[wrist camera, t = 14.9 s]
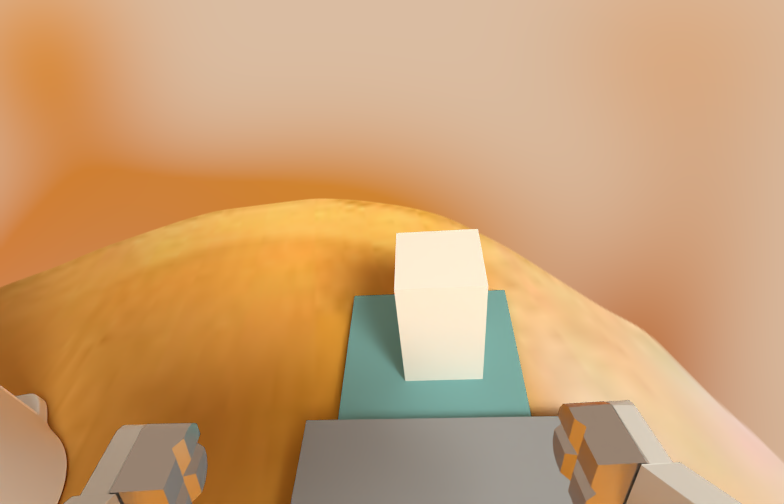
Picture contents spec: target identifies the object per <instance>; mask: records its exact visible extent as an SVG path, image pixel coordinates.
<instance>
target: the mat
mask: <svg viewBox="0 0 784 504" xmlns="http://www.w3.org/2000/svg"><path fill="white" fill-rule="evenodd" d="M479 417H531V412H530V408H529V403H528V398H527V394H526V389H525V384H524V379H523V375H522V370H521V365H520V361H519V356H518V351H517V347H516V342H515V337H514V333H513V328H512V323H511V318H510V314H509V309H508V304H507V300H506V295H505V290H495V291H488V298H487V316H486V333H485V350H484V367H483V379H466V380H427V381H405V375H404V367H403V358H402V350H401V342H400V334H399V326H398V317H397V309H396V301H395V294H393V295H367V296H355V297H354V305H353V312H352V320H351V327H350V335H349V342H348V350H347V357H346V364H345V372H344V379H343V387H342V394H341V402H340V409H339V417H338V420H357V419H418V418H479Z"/></svg>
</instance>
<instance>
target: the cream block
mask: <svg viewBox="0 0 784 504" xmlns="http://www.w3.org/2000/svg"><path fill="white" fill-rule="evenodd" d="M394 293H395V301H396V309H397V317H398V326H399V334H400V342H401V350H402V358H403V367H404V375H405V381H427V380H466V379H483V367H484V350H485V333H486V316H487V298H488V282H487V277H486V271H485V266H484V260H483V254H482V249H481V243H480V238H479V232H478V229H468V230H449V231H429V232H410V233H396V257H395V281H394Z"/></svg>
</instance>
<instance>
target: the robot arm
mask: <svg viewBox="0 0 784 504" xmlns="http://www.w3.org/2000/svg"><path fill="white" fill-rule="evenodd" d="M558 417H559V419H560V422H561V424H560V425H559V426H558V427H557V428H555V429H554V435H553V452H554V456H555V460H556V463H557V466H558V468H559V471H560V473H562V474H563V475H564V476H565V477H566V478H568V479H569V480H570V485H569V489H568V493H569V495H570V497H571V500H572V502H573V504H742V503H740V502H739V501H737V500H736V499H734V498H733V497H731V496H730V495H728V494H727V493H725V492H724V491H722V490H721V489H719V488H718V487H716V486H715V485H713V484H712V483H710V482H709V481H707V480H706V479H704V478H703V477H701V476H700V475H698V474H697V473H695V472H694V471H692V470H691V469H689V468H688V467H686V466H685V465H683V464H682V463H680V462H673V461H672V460H671V458H670V457H669V456H668V454H667V453H666V451H665V450H664V448H663V447H662V445H661V444H660V442H659V441H658V439H657V438H656V436H655V435H654V433H653V432H652V430H651V429H650V427H649V426H648V424H647V423H646V421H645V420H644V418H643V417H642V415H641V414H640V412H639V411H638V409H637V408H636V407H635V405H634V404H633V403H632V402H630V401H629V400H625V401H607V402H604V401H601V402H585V403H569V404H563V405H562V406H561V407H560V409H559V413H558ZM199 436H200V431H199V429H198V426H197V424H196V423H172V424H141V425H123V426H122V427H121V428H120V429H118V430H117V431H116V433H115V435H114V436H113V438H112V440H111V442H110V444H109V445H108V447H107V449H106V451H105V452H104V454H103V456H102V458H101V460H100V461H99V463H98V465H97V467H96V468H95V470H94V472H93V474H92V476H91V477H90V479H89V481H88V483H87V484H86V486H85V488H84V490H83V491H82V493H81V495H80V496H72V497H71V498H70V499H69V500H67V501H66V502H65V503H64V504H192V502H193V501H194V500H195V499H196V498H197V497H198V496H199V495H200V494H201V493H202V490H203V487H204V484H205V480H206V473H207V454H206V451H205V448H204V447H203V446H202V445H200V444H199V443H197V442H198V439H199ZM66 469H67V460H66V453H65V449H64V447H63V444H62V442H61V441H60V439H59V438H58V436H57V435H56V434H55V433H54V432H53V431H52V430H51V429H50V427H49V425H48V423H47V404H46V402H45V401H44V400H43V399H42V398H40V397H39V396H38V395H36V394H25V395H19V396H14V395H13V394H11V393H10V392H9V391H7V390H6V389H5V388H3V387H2V386H1V385H0V504H58V501H59V499H60V496H61V493H62V490H63V486H64V482H65V477H66Z"/></svg>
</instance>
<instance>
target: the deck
mask: <svg viewBox="0 0 784 504" xmlns="http://www.w3.org/2000/svg"><path fill="white" fill-rule="evenodd" d="M560 424H561V422H560V419H559V417H558V416H540V417H479V418H418V419H357V420H306V426H305V431H304V436H303V441H302V447H301V452H300V457H299V462H298V468H297V473H296V478H295V483H294V488H293V494H292V499H291V504H573V502H572V500H571V497H570V495H569V493H568V489H569V485H570V480H569V479H568V478H566V477H565V476H564V475H563V474H562V473H560V471H559V468H558V466H557V463H556V460H555V456H554V452H553V435H554V429H555V428H557V427H558V426H559V425H560Z"/></svg>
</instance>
